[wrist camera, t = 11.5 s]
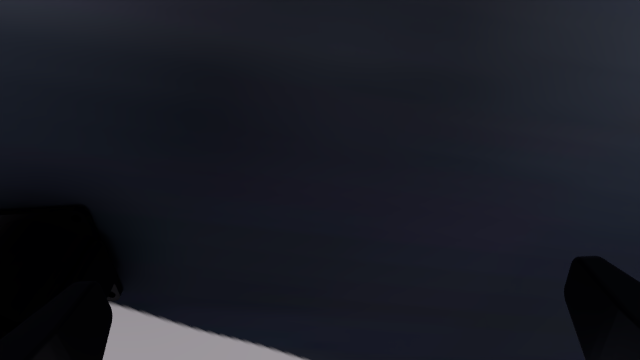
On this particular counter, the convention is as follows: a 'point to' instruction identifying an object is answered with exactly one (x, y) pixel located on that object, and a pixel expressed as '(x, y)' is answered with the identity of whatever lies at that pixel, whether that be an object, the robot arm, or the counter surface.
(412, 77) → the counter surface
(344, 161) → the counter surface
